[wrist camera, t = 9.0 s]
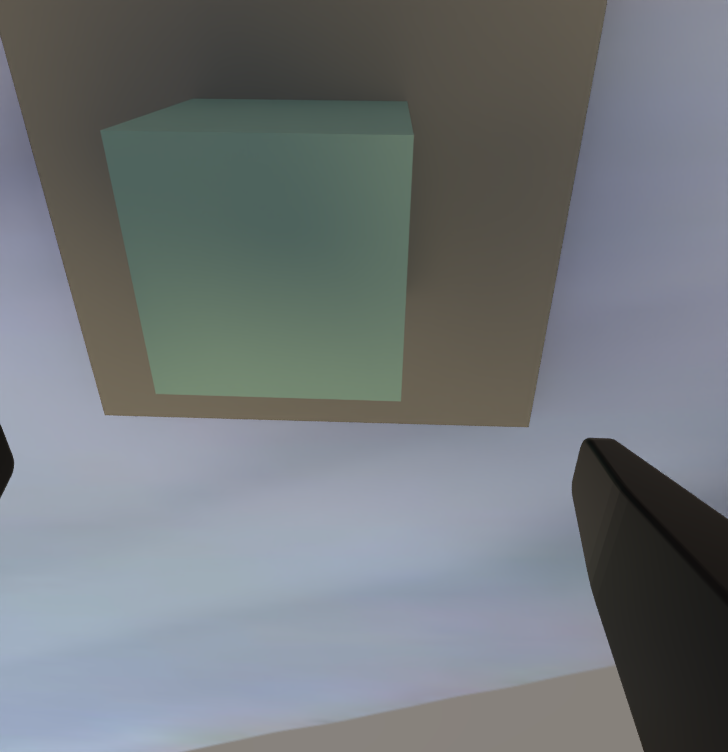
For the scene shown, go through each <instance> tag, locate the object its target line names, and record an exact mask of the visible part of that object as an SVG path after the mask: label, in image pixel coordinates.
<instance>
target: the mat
mask: <svg viewBox="0 0 728 752" xmlns="http://www.w3.org/2000/svg"><path fill="white" fill-rule="evenodd" d="M606 5H607V0H0V35H1V39H2V43H3V46H4V50H5V54H6V57H7V61H8V65H9V68H10V72H11V75H12V79H13V83H14V86H15V90H16V94H17V97H18V101H19V105H20V108H21V112H22V115H23V119H24V123H25V126H26V130H27V134H28V137H29V141H30V145H31V148H32V152H33V155H34V159H35V163H36V166H37V170H38V174H39V177H40V181H41V185H42V188H43V192H44V195H45V199H46V203H47V206H48V210H49V214H50V217H51V221H52V225H53V228H54V232H55V235H56V239H57V243H58V246H59V250H60V254H61V257H62V261H63V264H64V268H65V272H66V275H67V279H68V283H69V286H70V290H71V294H72V297H73V301H74V304H75V308H76V312H77V315H78V319H79V323H80V326H81V330H82V334H83V337H84V341H85V344H86V348H87V352H88V355H89V359H90V363H91V366H92V370H93V374H94V377H95V381H96V384H97V388H98V392H99V395H100V399H101V403H102V406H103V410H104V414H105V415H117V416H153V417H188V418H223V419H258V420H293V421H328V422H363V423H399V424H434V425H469V426H504V427H529V422H530V416H531V411H532V405H533V400H534V395H535V389H536V384H537V378H538V373H539V367H540V362H541V357H542V351H543V346H544V340H545V335H546V330H547V324H548V319H549V313H550V308H551V303H552V297H553V292H554V286H555V281H556V276H557V270H558V265H559V259H560V254H561V248H562V243H563V238H564V232H565V227H566V221H567V216H568V211H569V205H570V200H571V194H572V189H573V184H574V178H575V173H576V167H577V162H578V156H579V151H580V146H581V140H582V135H583V129H584V124H585V119H586V113H587V108H588V102H589V97H590V92H591V86H592V81H593V75H594V70H595V65H596V59H597V54H598V48H599V43H600V37H601V32H602V27H603V21H604V16H605V10H606ZM190 99H266V100H342V101H407V103H408V108H409V113H410V118H411V123H412V128H413V133H414V142H413V163H412V183H411V204H410V224H409V245H408V266H407V286H406V307H405V327H404V348H403V368H402V389H401V401H372V400H339V399H306V398H273V397H240V396H207V395H174V394H156V393H155V388H154V383H153V378H152V374H151V369H150V364H149V359H148V355H147V350H146V345H145V340H144V336H143V331H142V326H141V322H140V317H139V312H138V307H137V303H136V298H135V293H134V288H133V284H132V279H131V274H130V269H129V265H128V260H127V255H126V250H125V246H124V241H123V236H122V231H121V227H120V222H119V217H118V212H117V208H116V203H115V198H114V193H113V189H112V184H111V179H110V174H109V170H108V165H107V160H106V155H105V151H104V146H103V141H102V136H101V132H100V130H103V129H106V128H109V127H112V126H115V125H118V124H120V123H123V122H126V121H129V120H132V119H135V118H138V117H141V116H144V115H147V114H150V113H152V112H155V111H158V110H161V109H164V108H167V107H170V106H173V105H176V104H179V103H182V102H184V101H187V100H190Z"/></svg>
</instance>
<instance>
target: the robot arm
mask: <svg viewBox="0 0 728 752" xmlns="http://www.w3.org/2000/svg"><path fill="white" fill-rule="evenodd" d="M13 469H14V459H13V455H12V453H11V450H10V448H9V445H8V442H7V440H6V437H5V435H4V432H3V429H2V427H1V425H0V498H1V496H2V494H3V492H4V490H5V488H6V486H7V484H8V482H9V480H10V478H11V476H12V473H13ZM572 496H573V502H574V507H575V512H576V517H577V522H578V527H579V532H580V537H581V542H582V547H583V552H584V557H585V562H586V567H587V572H588V577H589V581H590V586H591V589H592V593H593V596H594V599H595V603H596V606H597V609H598V612H599V615H600V618H601V621H602V624H603V627H604V630H605V633H606V636H607V640H608V643H609V646H610V649H611V652H612V655H613V658H614V661H615V664H616V667H617V670H618V673H619V676H620V679H621V682H622V686H623V689H624V692H625V695H626V698H627V701H628V704H629V707H630V710H631V713H632V716H633V719H634V722H635V726H636V729H637V732H638V735H639V737H640V741H641V744H642V747H643V750H644V752H728V519H727V518H726V517H724V516H723V515H721V514H720V513H719V512H717V511H716V510H714V509H713V508H711V507H710V506H709V505H707V504H706V503H704V502H703V501H701V500H700V499H699V498H697V497H696V496H694V495H693V494H691V493H690V492H689V491H687V490H686V489H684V488H683V487H681V486H680V485H679V484H677V483H676V482H674V481H673V480H671V479H670V478H669V477H667V476H666V475H664V474H663V473H661V472H660V471H659V470H657V469H656V468H654V467H653V466H652V465H650V464H649V463H647V462H646V461H644V460H643V459H642V458H640V457H639V456H637V455H636V454H634V453H633V452H632V451H630V450H629V449H627V448H626V447H624V446H623V445H622V444H620V443H619V442H617V441H616V440H614V439H610V438H587V439H585V440H584V441H583V443H582V444H581V447H580V451H579V455H578V459H577V463H576V467H575V472H574V476H573V480H572Z"/></svg>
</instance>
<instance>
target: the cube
mask: <svg viewBox="0 0 728 752" xmlns="http://www.w3.org/2000/svg"><path fill="white" fill-rule="evenodd" d="M100 132H101V136H102V141H103V146H104V151H105V155H106V160H107V165H108V170H109V174H110V179H111V184H112V189H113V193H114V198H115V203H116V208H117V212H118V217H119V222H120V227H121V231H122V236H123V241H124V246H125V250H126V255H127V260H128V265H129V269H130V274H131V279H132V284H133V288H134V293H135V298H136V303H137V307H138V312H139V317H140V322H141V326H142V331H143V336H144V340H145V345H146V350H147V355H148V359H149V364H150V369H151V374H152V378H153V383H154V388H155V393H156V394H174V395H207V396H240V397H273V398H306V399H339V400H372V401H401V389H402V368H403V348H404V327H405V307H406V286H407V266H408V245H409V224H410V204H411V183H412V163H413V142H414V133H413V128H412V123H411V118H410V113H409V108H408V103H407V101H342V100H266V99H190V100H187V101H184V102H182V103H179V104H176V105H173V106H170V107H167V108H164V109H161V110H158V111H155V112H152V113H150V114H147V115H144V116H141V117H138V118H135V119H132V120H129V121H126V122H123V123H120V124H118V125H115V126H112V127H109V128H106V129H103V130H100Z"/></svg>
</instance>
